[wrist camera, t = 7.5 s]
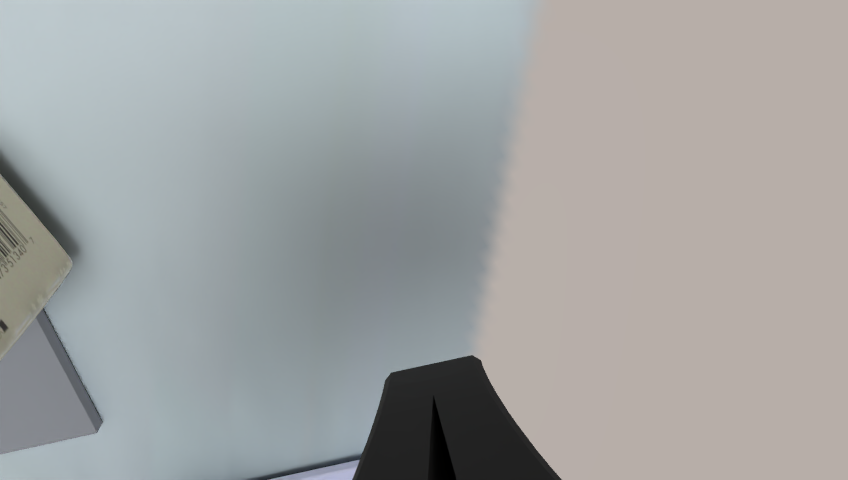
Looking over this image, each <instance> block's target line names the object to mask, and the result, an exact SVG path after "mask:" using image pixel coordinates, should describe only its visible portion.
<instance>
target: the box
mask: <svg viewBox="0 0 848 480" xmlns="http://www.w3.org/2000/svg"><path fill="white" fill-rule="evenodd" d="M72 264H73V263H72V260H71V258H70V257H69V256H68V254H67V253H66V252H65V251H64V249H63V248H62V247H61V245H60V244H59V243H58V242H57V240H56V239H55V238H54V237H53V235H52V234H51V233H50V232H49V231H48V230H47V229H46V228H45V226H44V225H43V224H42V223H41V222H40V220H39V219H38V218H37V217H36V215H35V214H34V213H33V212H32V211H31V209H30V208H29V207H28V206H27V205H26V204H25V202H24V201H23V200H22V199H21V198H20V197H19V195H18V194H17V193H16V192H15V191H14V189H13V188H12V187H11V186H10V185H9V183H8V182H7V181H6V180H5V179H4V178H3V177H2V175H1V174H0V360H1V359H2V358H3V357H4V356H5V355H6V353H7V352H8V351H9V350H10V349H11V347H12V346H13V345H14V344H15V343H16V341H17V340H18V339H19V338H20V336H21V335H22V334H23V333H24V331H25V330H26V329H27V328H28V326H29V325H30V324H31V323H32V321H33V320H34V319H35V318H36V316H37V315H38V314H39V313H40V311H41V310H42V309H43V307H44V306H45V305H46V303H47V302H48V301H49V299H50V298H51V297H52V295H53V294H54V293H55V291H56V290H57V289H58V287H59V286H60V285H61V283H62V282H63V280H64V279H65V277H66V276H67V274H68V273H69V271H70V270H71V268H72Z"/></svg>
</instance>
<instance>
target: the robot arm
mask: <svg viewBox="0 0 848 480" xmlns="http://www.w3.org/2000/svg"><path fill="white" fill-rule="evenodd" d="M269 480H561V478H560V477H559V476H558V475H557V474H556V473H555V472H554V471H553V469H552V468H551V467H550V466H549V465H548V463H547V462H546V461H545V460H544V459H543V457H542V456H541V455H540V454H539V453H538V451H537V450H536V449H535V447H534V446H533V445H532V443H531V442H530V441H529V439H528V438H527V437H526V435H525V434H524V433H523V432H522V430H521V429H520V428H519V426H518V425H517V424H516V422H515V421H514V419H513V418H512V417H511V415H510V414H509V413H508V411H507V409H506V408H505V406H504V404H503V403H502V401H501V400H500V398H499V397H498V395H497V393H496V392H495V390H494V388H493V386H492V385H491V383H490V381H489V379H488V377H487V375H486V373H485V370H484V368H483V366H482V362H481V360H479V359H478V358H476V357H474V356H473V355H471V356H466V357H462V358H457V359H452V360H448V361H443V362H439V363H434V364H429V365H425V366H420V367H416V368H411V369H406V370H402V371H397V372H392V373H391V374H390V375H389V376H388V378H387V379H386V380H385V384H384V389H383V393H382V397H381V400H380V404H379V407H378V410H377V414H376V417H375V420H374V423H373V426H372V429H371V432H370V435H369V438H368V440H367V443H366V446H365V448H364V451H363V453H362V456H361V458H360V460H356V461H351V462H347V463H342V464H338V465H333V466H328V467H324V468H319V469H315V470H310V471H306V472H301V473H297V474H292V475H287V476H283V477H278V478H274V479H269Z"/></svg>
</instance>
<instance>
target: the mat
mask: <svg viewBox="0 0 848 480" xmlns="http://www.w3.org/2000/svg"><path fill="white" fill-rule="evenodd" d="M101 424H102V421H101V419H100V417H99V415H98V413H97V411H96V409H95V407H94V405H93V404H92V402H91V400H90V398H89V396H88V394H87V392H86V390H85V388H84V386H83V384H82V383H81V381H80V379H79V377H78V375H77V373H76V371H75V369H74V367H73V365H72V364H71V362H70V360H69V358H68V356H67V354H66V352H65V350H64V348H63V346H62V345H61V343H60V341H59V339H58V337H57V335H56V333H55V331H54V329H53V327H52V326H51V324H50V322H49V320H48V318H47V316H46V314H45V312H44V310H43V309H42V310H41V311H40V313H39V314H38V315H37V316H36V318H35V319H34V320H33V321H32V323H31V324H30V325H29V326H28V328H27V329H26V330H25V331H24V333H23V334H22V335H21V336H20V338H19V339H18V340H17V341H16V343H15V344H14V345H13V346H12V347H11V349H10V350H9V351H8V352H7V353H6V355H5V356H4V357H3V358H2V359H1V360H0V454H4V453H9V452H13V451H18V450H22V449H27V448H31V447H36V446H40V445H45V444H49V443H54V442H58V441H63V440H67V439H72V438H76V437H81V436H85V435H90V434H94V433H97V432H98V430H99V428H100V426H101Z"/></svg>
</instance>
